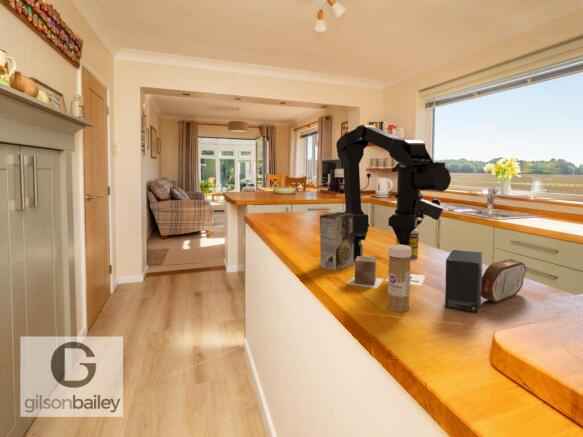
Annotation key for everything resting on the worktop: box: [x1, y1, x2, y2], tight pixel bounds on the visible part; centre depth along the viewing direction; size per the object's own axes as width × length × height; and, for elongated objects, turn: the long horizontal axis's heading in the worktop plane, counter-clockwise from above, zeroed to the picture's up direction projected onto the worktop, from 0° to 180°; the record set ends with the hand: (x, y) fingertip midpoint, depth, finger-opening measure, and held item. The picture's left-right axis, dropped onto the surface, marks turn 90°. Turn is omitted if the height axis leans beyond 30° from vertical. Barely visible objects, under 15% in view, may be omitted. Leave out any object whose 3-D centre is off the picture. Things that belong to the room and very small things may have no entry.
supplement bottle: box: [395, 228, 420, 263], centre depth 90 cm, size 6×6×10 cm
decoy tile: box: [345, 275, 385, 289], centre depth 89 cm, size 8×8×1 cm
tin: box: [481, 258, 527, 303], centre depth 76 cm, size 15×3×8 cm, turn 123°
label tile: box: [384, 273, 426, 287], centre depth 91 cm, size 9×9×1 cm
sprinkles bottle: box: [386, 244, 412, 313], centre depth 71 cm, size 5×5×13 cm
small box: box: [444, 249, 483, 313], centre depth 74 cm, size 11×6×10 cm, turn 148°
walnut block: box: [354, 256, 377, 285], centre depth 89 cm, size 5×5×6 cm
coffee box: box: [319, 211, 355, 272], centre depth 103 cm, size 9×6×16 cm
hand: (406, 248), depth 90 cm, fingers closed on supplement bottle, 6 cm apart
